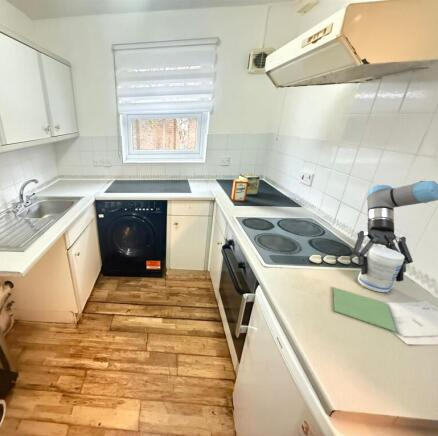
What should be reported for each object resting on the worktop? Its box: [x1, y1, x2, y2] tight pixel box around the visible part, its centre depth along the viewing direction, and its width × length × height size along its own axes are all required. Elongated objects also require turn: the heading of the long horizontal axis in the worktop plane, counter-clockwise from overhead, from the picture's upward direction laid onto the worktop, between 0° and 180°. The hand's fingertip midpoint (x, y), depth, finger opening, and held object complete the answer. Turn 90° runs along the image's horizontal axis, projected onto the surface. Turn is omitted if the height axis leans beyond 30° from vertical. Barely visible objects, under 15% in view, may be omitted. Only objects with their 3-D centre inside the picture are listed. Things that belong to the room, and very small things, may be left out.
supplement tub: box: [357, 245, 405, 293], centre depth 89 cm, size 10×10×15 cm
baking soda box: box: [230, 178, 248, 202], centre depth 185 cm, size 10×6×16 cm
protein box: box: [238, 173, 261, 197], centre depth 202 cm, size 10×16×16 cm
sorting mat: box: [333, 287, 397, 333], centre depth 81 cm, size 15×14×1 cm
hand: (381, 277), depth 87 cm, fingers closed on supplement tub, 9 cm apart
